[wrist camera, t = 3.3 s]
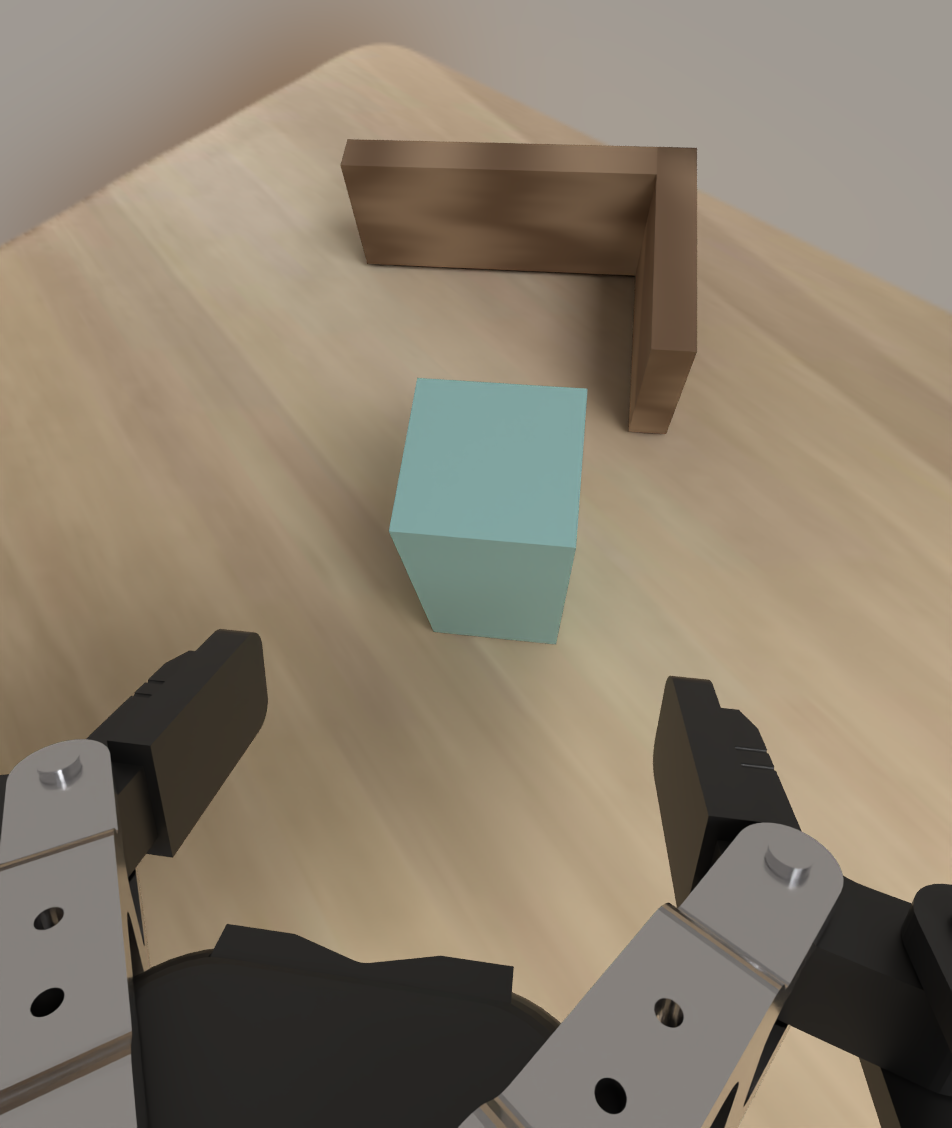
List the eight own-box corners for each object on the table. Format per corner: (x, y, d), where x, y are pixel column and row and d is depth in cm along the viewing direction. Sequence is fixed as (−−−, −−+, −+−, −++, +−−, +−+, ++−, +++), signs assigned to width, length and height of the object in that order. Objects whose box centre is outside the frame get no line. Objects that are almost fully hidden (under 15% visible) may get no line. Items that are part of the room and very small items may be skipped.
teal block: (564, 531, 25) (587, 388, 17) (555, 644, 24) (575, 547, 15) (450, 521, 26) (417, 378, 17) (433, 631, 24) (388, 531, 16)
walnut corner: (669, 251, 30) (696, 148, 25) (665, 433, 27) (696, 351, 22) (373, 240, 32) (347, 139, 27) (332, 411, 28) (295, 329, 23)
